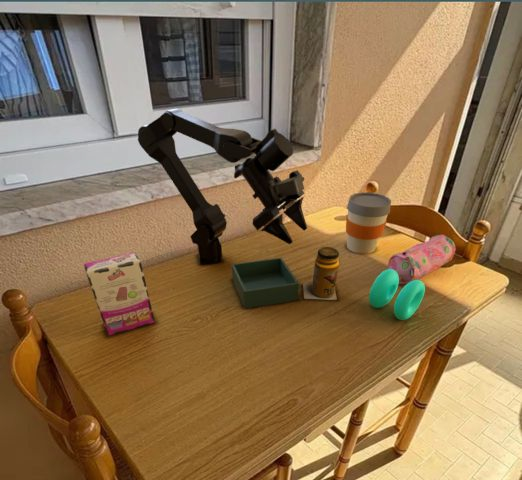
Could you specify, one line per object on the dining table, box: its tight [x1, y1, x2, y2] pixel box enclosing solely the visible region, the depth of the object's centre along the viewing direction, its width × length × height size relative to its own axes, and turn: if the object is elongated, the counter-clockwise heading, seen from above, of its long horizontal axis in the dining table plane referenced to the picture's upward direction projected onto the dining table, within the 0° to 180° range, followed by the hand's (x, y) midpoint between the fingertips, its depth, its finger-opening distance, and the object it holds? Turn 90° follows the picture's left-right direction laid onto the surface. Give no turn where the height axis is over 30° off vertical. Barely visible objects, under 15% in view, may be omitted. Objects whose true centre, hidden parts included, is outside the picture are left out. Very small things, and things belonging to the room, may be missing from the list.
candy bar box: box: [83, 252, 156, 336], centre depth 85 cm, size 11×5×16 cm, turn 118°
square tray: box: [230, 257, 300, 309], centre depth 100 cm, size 14×14×5 cm
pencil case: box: [387, 234, 456, 285], centre depth 106 cm, size 21×9×9 cm, turn 127°
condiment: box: [302, 246, 340, 301], centre depth 97 cm, size 7×8×12 cm
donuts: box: [368, 268, 426, 321], centre depth 92 cm, size 10×10×10 cm
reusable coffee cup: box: [345, 192, 392, 255], centre depth 116 cm, size 13×13×15 cm
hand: (298, 236), depth 96 cm, fingers open, 9 cm apart
